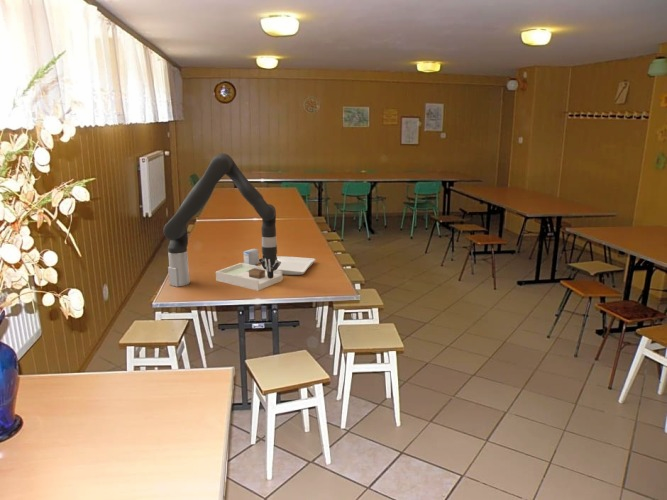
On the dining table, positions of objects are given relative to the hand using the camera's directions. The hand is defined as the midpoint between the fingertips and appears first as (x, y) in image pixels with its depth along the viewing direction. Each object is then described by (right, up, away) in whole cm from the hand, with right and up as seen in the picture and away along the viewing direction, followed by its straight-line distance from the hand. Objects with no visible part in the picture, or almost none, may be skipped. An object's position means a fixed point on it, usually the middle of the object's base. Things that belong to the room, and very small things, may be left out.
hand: (270, 278), depth 263 cm
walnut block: (-8, 0, +5) cm, 9 cm away
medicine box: (-15, +5, +37) cm, 40 cm away
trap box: (-12, -2, +9) cm, 15 cm away
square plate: (+6, +3, +29) cm, 30 cm away
